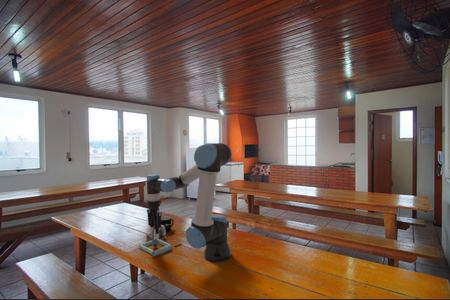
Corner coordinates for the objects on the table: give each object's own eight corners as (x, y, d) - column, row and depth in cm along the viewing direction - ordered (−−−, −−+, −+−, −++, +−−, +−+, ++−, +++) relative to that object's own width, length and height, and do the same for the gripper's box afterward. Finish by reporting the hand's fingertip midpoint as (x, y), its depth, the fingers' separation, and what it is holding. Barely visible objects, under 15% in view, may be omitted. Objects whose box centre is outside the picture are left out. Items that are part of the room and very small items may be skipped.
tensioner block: (166, 238, 170) (166, 225, 170) (151, 244, 161) (150, 230, 161) (160, 236, 176) (159, 223, 175) (144, 241, 167) (144, 228, 167)
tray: (171, 249, 153) (171, 244, 153) (153, 256, 144) (153, 251, 144) (157, 243, 163) (157, 238, 163) (139, 249, 154) (139, 244, 154)
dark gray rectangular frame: (181, 244, 160) (181, 243, 160) (176, 247, 156) (176, 246, 156) (166, 240, 168) (166, 239, 168) (160, 242, 164) (160, 242, 164)
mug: (164, 234, 178) (163, 220, 178) (156, 232, 184) (156, 218, 184) (177, 230, 187) (177, 216, 187) (169, 227, 193) (169, 214, 193)
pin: (158, 246, 154) (158, 226, 153) (154, 247, 151) (153, 228, 151) (155, 244, 156) (155, 225, 155) (151, 246, 153) (151, 226, 153)
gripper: (166, 200, 150) (167, 239, 151) (152, 197, 161) (153, 233, 162) (155, 203, 144) (156, 243, 145) (141, 199, 155) (142, 236, 156)
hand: (154, 238), depth 153 cm, fingers closed on pin, 3 cm apart
